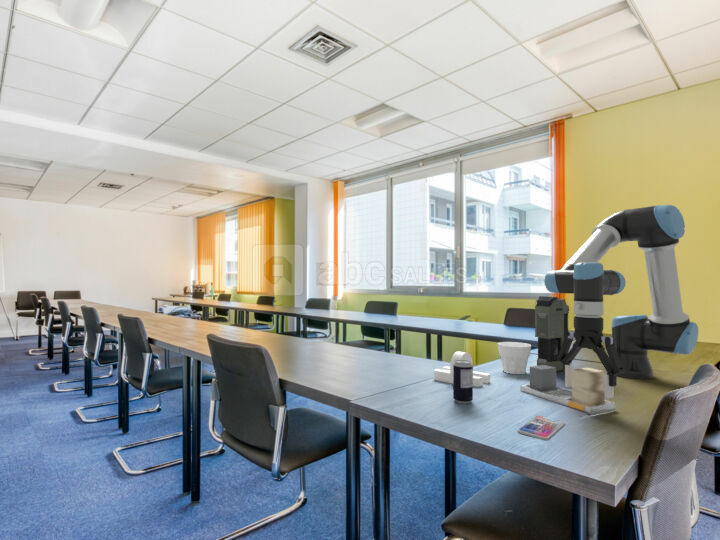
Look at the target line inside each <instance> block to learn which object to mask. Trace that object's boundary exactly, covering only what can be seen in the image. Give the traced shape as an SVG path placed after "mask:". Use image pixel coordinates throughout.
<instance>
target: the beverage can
mask: <svg viewBox="0 0 720 540" xmlns="http://www.w3.org/2000/svg"><path fill="white" fill-rule="evenodd" d="M471 363H472V364H471ZM473 371H474V367H473V361H472V362H471V361H467V360H456V361H455V363H454V365H453V384H452V385H453V387H452V388H453V389H452V390H453V392H452V394H453V395H452V396H453V397H452V398H453V399H454V401H455V402H456V403H458V404H462V403H463V404H462V405H464V404H465V405H467V403H468V404H470V403H471V402H472V401H474V399H473V398H474V389H473V388H474V386H473Z"/></svg>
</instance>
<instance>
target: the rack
mask: <svg viewBox="0 0 720 540" xmlns="http://www.w3.org/2000/svg"><path fill="white" fill-rule="evenodd" d="M519 389H520V392H523V393H526V394H530V395H532V396H536V397H539V398H542V399H544V400H548V401H551V402H554V403H557V404H560V405H564V406H566V407H570V408H571V409H572V408H573V409H574V410H579V411H581V412H585V413H587V416H594V415H595V416H596V415H600V414H605V413H609V412H613V411H616V402H614V401H611V400H607V399H605V403H603V404H598V405H593V406H587V405H584V404H581V403H577V402H574V401H572V389H568V388H566V387H563V386H562V387H561V386H557V385H556V389H555V390H548V391H539V390H536V389H532V388H530V383H529V384H521V385H520V386H519Z"/></svg>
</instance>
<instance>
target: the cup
mask: <svg viewBox="0 0 720 540" xmlns="http://www.w3.org/2000/svg"><path fill="white" fill-rule="evenodd" d="M497 348H498V354H499V356H500V359H501V366H502V372H503V371H504V372H503V373H505V372H506V373H505V374H508V373H510V374H509V375H515V374H522V375H525V374H526V373H527V367H528V362H529V358H530V356H531V351H532V350H531V349H532V345H531V344H530V343H525V342H520V341H519V342H518V341H502V342H501V341H500V342H498V343H497Z"/></svg>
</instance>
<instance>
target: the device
mask: <svg viewBox="0 0 720 540" xmlns="http://www.w3.org/2000/svg"><path fill="white" fill-rule="evenodd" d="M534 303H535V305H534V337H535V338H537V359H536V366H539V365H547V366H551V367H555V368H556V375H557V374H561V373H562V374H563V363H562V362H560V361H558V360H557V357H558V354H559V351H560V349H561V346H562V343H563V341H564V332H565V331H569V330H568V329H569V328H568V315H569V314H570V307H569V305H568V304H567V302H566V299H563V298H559V297H557V296H541V295H539V297H538V299H537V300H536V299H535V302H534Z"/></svg>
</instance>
